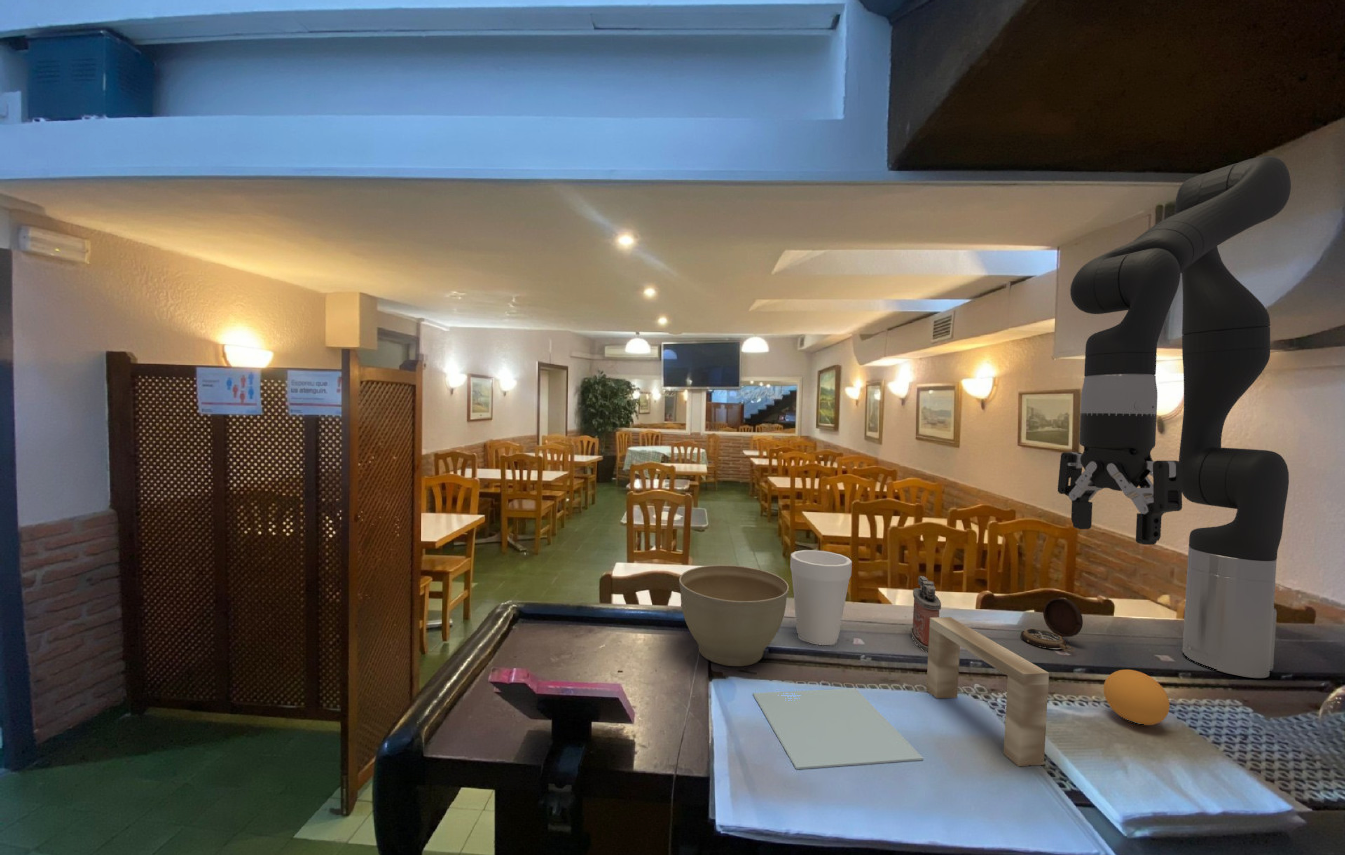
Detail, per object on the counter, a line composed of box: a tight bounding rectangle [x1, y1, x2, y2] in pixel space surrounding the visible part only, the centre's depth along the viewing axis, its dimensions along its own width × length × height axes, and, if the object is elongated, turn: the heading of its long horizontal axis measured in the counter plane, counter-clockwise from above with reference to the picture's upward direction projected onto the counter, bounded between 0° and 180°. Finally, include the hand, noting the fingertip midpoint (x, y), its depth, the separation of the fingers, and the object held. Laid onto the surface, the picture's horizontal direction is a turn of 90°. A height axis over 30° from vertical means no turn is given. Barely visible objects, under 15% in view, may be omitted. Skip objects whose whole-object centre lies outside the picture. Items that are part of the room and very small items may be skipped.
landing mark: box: [752, 687, 924, 770], centre depth 60 cm, size 14×14×1 cm
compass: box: [1020, 597, 1084, 653], centre depth 85 cm, size 8×8×7 cm
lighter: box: [910, 575, 942, 652], centre depth 84 cm, size 8×3×10 cm, turn 168°
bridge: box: [925, 616, 1050, 767], centre depth 62 cm, size 3×15×10 cm, turn 9°
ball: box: [1103, 669, 1171, 726], centre depth 63 cm, size 6×6×6 cm
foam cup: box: [789, 549, 853, 645], centre depth 84 cm, size 10×9×13 cm
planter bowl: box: [678, 564, 790, 667], centre depth 78 cm, size 16×16×11 cm
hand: (1111, 535), depth 68 cm, fingers open, 8 cm apart
